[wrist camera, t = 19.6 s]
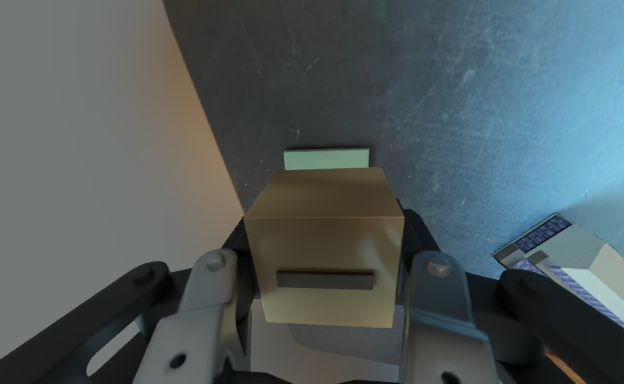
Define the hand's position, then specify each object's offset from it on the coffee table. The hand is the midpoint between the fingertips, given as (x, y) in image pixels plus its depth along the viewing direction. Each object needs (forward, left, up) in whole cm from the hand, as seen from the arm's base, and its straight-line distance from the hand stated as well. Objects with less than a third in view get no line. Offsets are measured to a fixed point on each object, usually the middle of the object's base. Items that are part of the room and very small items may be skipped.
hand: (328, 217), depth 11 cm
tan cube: (0, 0, 0) cm, 0 cm away
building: (+29, -16, -16) cm, 37 cm away
